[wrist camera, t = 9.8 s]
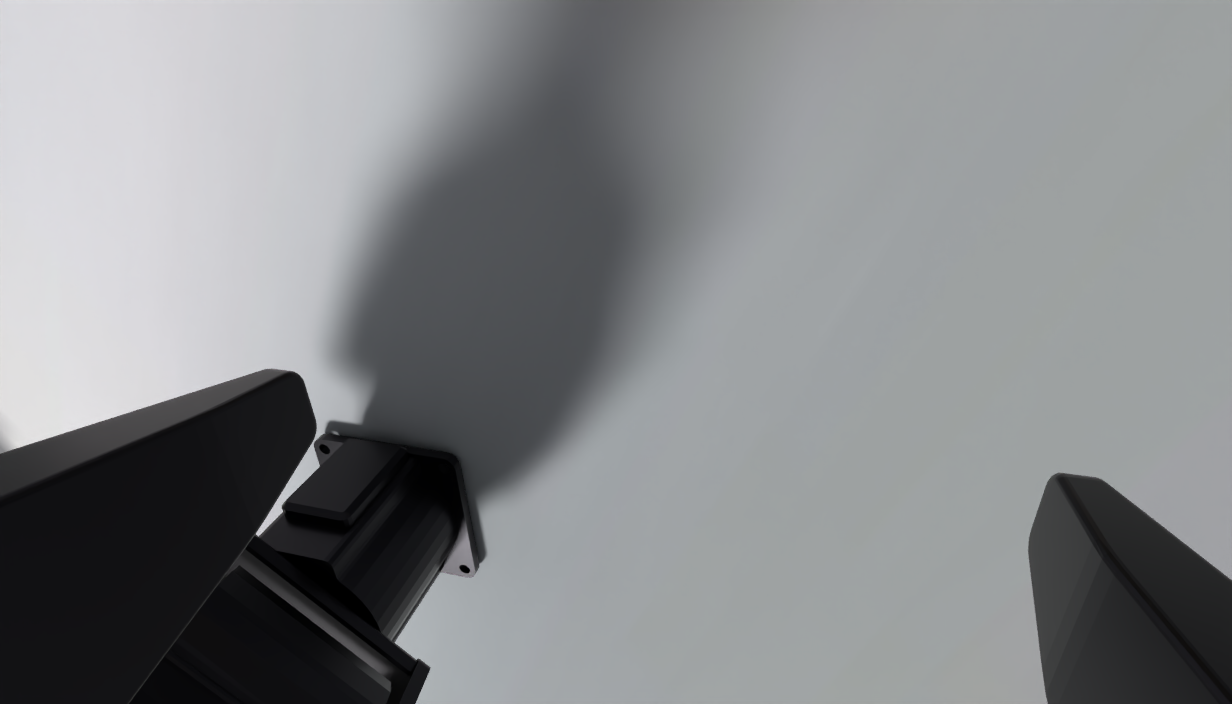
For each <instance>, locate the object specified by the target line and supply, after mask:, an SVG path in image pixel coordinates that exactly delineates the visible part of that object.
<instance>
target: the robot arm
mask: <svg viewBox="0 0 1232 704" xmlns="http://www.w3.org/2000/svg"><path fill="white" fill-rule="evenodd" d="M316 429H317V426H316V419H315V416H314V413H313V409H312V406H311V403H310V399H309V396H308V393H307V390H306V386H305V383H304V381H303V379H302V378H301V376H300V375H299V374H297V373H295V372H293V371H286V370H279V369H265V370H261V371H258V372H255V373H252V374H249V375H246V376H243V377H239V378H236V379H233V380H230V381H227V382H224V383H221V384H218V385H214V386H211V387H208V388H205V389H202V390H199V391H196V392H192V393H189V394H186V395H183V396H180V397H177V398H174V399H170V400H167V401H164V402H161V403H158V404H155V405H152V406H148V407H145V408H142V409H139V410H136V411H133V412H130V413H126V414H123V415H120V416H117V417H114V418H111V419H108V420H104V421H101V422H98V423H95V424H92V425H89V426H86V427H82V428H79V429H76V430H73V431H70V432H67V433H64V434H60V435H57V436H54V437H51V438H48V439H45V440H42V441H38V442H35V443H32V444H29V445H26V446H23V447H20V448H16V449H13V450H10V451H7V452H4V453H1V454H0V704H415V703H416V701H417V699H418V696H419V694H420V692H421V689H422V687H423V685H424V682H425V680H426V678H427V675H428V673H429V671H430V667H429V666H428V665H427V664H425V663H424V662H423V661H421V660H420V659H417V660H416V659H414V658H413V657H412V656H411V655H409V654H408V653H407V652H405V651H404V650H403V649H402V648H400V647H399V646H398V645H397V644H395V643H394V642H395V641H396V639H397V638H398V636H399V635H400V633H401V632H402V630H403V629H404V627H405V626H406V624H407V622H408V621H409V619H410V618H411V616H412V615H413V613H414V612H415V610H416V609H417V607H418V606H419V604H420V603H421V601H422V599H423V598H424V596H425V595H426V593H427V592H428V590H429V589H430V587H431V586H432V584H433V583H434V581H435V579H436V578H437V576H438V575H439V573H440V572H443V573H448V574H453V575H458V576H462V577H473V576H474V575H475V573H476V572H477V570H478V568H479V560H478V555H477V550H476V544H475V539H474V534H473V529H472V523H471V518H470V513H469V508H468V502H467V497H466V492H465V487H464V481H463V476H462V471H461V466H460V462H459V460H458V459H457V458H456V457H455V456H454V455H452V454H450V453H447V452H441V451H435V450H428V449H422V448H415V447H409V446H403V445H396V444H390V443H383V442H377V441H371V440H364V439H358V438H351V437H345V436H339V435H332V434H323V435H321V436H320V437H319V438H318V439H317V440H316V441H315V443H314V448H315V451H316V454H317V458H318V461H319V464H320V467H319V468H318V469H317V470H316V471H315V472H314V473H313V474H312V475H311V476H310V477H309V478H308V479H307V480H306V481H305V482H304V483H303V484H302V485H301V486H300V487H299V488H298V489H297V490H296V491H295V492H294V493H293V494H292V495H291V496H290V497H289V498H288V499H287V500H286V501H285V502H284V503H283V505H282V509H283V513H282V514H281V515H280V516H279V517H278V518H277V519H276V520H275V521H274V522H273V523H272V524H271V525H270V526H269V527H268V528H267V529H266V530H265V531H264V532H263V533H262V534H261V535H260V536H259V537H258V536H257V535H256V532H257V531H258V529H259V528H260V526H261V525H262V523H263V522H264V520H265V518H266V517H267V515H268V514H269V512H270V510H271V509H272V507H273V505H274V504H275V502H276V501H277V499H278V497H279V496H280V494H281V492H282V491H283V489H284V488H285V486H286V484H287V483H288V481H289V479H290V478H291V476H292V475H293V473H294V471H295V470H296V468H297V466H298V465H299V463H300V461H301V460H302V458H303V457H304V455H305V453H306V452H307V450H308V448H309V447H310V445H311V444H312V442H313V440H314V437H315V434H316ZM445 464H446V465H447V466H448V467H447V466H446V465H445ZM1028 554H1029V563H1030V572H1031V580H1032V588H1033V597H1034V605H1035V613H1036V622H1037V630H1038V638H1039V647H1040V655H1041V663H1042V672H1043V678H1044V685H1045V692H1046V697H1047V702H1048V704H1232V580H1231V579H1229V578H1228V577H1227V576H1226V575H1224V574H1223V573H1222V572H1220V571H1219V570H1218V569H1217V568H1215V567H1214V566H1213V565H1211V564H1210V563H1209V562H1208V561H1206V560H1205V559H1204V558H1202V557H1201V556H1200V555H1199V554H1197V553H1196V552H1195V551H1193V550H1192V549H1191V548H1190V547H1188V546H1187V545H1186V544H1184V543H1183V542H1182V541H1181V540H1179V539H1178V538H1177V537H1175V536H1174V535H1173V534H1172V533H1170V532H1169V531H1168V530H1167V529H1165V528H1164V527H1163V526H1161V525H1160V524H1159V523H1158V522H1156V521H1155V520H1154V519H1152V518H1151V517H1150V516H1149V515H1147V514H1146V513H1145V512H1143V511H1142V510H1141V509H1140V508H1138V507H1137V506H1136V505H1134V504H1133V503H1132V502H1131V501H1129V500H1128V499H1127V498H1125V497H1124V496H1123V495H1122V494H1120V493H1119V492H1118V491H1116V490H1115V489H1114V488H1113V487H1111V486H1110V485H1109V484H1108V483H1106V482H1105V481H1103V480H1102V479H1099V478H1096V477H1089V476H1081V475H1073V474H1066V473H1057V474H1055V475H1053V476H1052V477H1051V478H1050V479H1049V481H1048V482H1047V485H1046V487H1045V490H1044V493H1043V496H1042V499H1041V502H1040V505H1039V508H1038V511H1037V514H1036V517H1035V520H1034V523H1033V526H1032V529H1031V532H1030V537H1029V545H1028Z"/></svg>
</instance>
